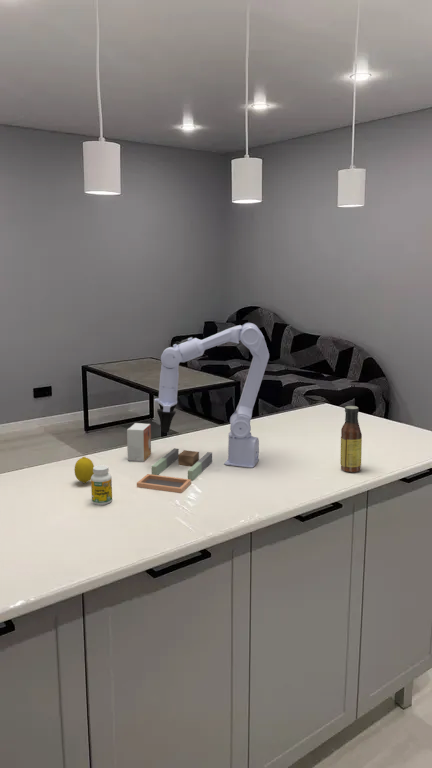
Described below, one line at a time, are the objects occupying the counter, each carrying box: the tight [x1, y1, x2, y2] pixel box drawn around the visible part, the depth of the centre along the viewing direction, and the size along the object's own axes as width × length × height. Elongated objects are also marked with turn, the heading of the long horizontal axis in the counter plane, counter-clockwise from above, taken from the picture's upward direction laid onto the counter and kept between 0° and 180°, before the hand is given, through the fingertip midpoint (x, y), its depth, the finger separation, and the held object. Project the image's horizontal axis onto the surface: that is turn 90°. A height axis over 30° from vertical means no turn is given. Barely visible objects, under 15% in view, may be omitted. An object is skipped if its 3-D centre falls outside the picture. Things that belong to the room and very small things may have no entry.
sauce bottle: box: [340, 405, 363, 473], centre depth 184 cm, size 6×6×20 cm
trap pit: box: [136, 473, 192, 494], centre depth 172 cm, size 14×8×1 cm, turn 72°
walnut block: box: [177, 449, 200, 468], centre depth 191 cm, size 5×5×4 cm
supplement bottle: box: [90, 464, 113, 506], centre depth 160 cm, size 5×5×10 cm
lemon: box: [74, 456, 95, 484], centre depth 173 cm, size 6×6×8 cm
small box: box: [126, 422, 152, 462], centre depth 195 cm, size 8×6×10 cm
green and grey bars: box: [150, 448, 213, 482], centre depth 186 cm, size 13×18×3 cm
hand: (165, 428), depth 190 cm, fingers open, 7 cm apart
